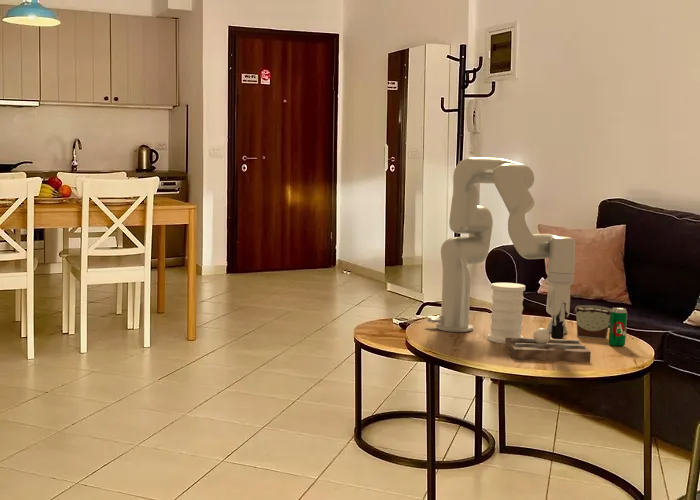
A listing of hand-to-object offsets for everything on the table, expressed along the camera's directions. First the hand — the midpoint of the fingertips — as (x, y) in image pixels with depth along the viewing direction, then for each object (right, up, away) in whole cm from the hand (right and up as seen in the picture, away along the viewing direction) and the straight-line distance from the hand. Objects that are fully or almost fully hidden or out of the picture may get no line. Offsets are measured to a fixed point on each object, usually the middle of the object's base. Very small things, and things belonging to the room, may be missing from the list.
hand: (556, 338), depth 241 cm
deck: (-3, -5, 0) cm, 6 cm away
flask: (+9, -2, +34) cm, 35 cm away
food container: (+20, -3, +30) cm, 36 cm away
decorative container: (-12, -3, +20) cm, 23 cm away
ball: (-5, +1, 0) cm, 5 cm away
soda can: (+23, -4, +16) cm, 28 cm away
